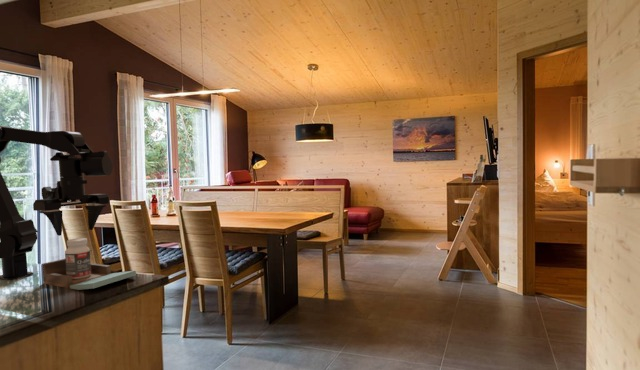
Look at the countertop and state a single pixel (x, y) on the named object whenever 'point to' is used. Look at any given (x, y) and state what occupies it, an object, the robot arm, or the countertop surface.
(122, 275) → the pale green rectangular panel
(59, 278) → the wooden open crate
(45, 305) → the countertop surface
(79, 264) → the pill bottle
